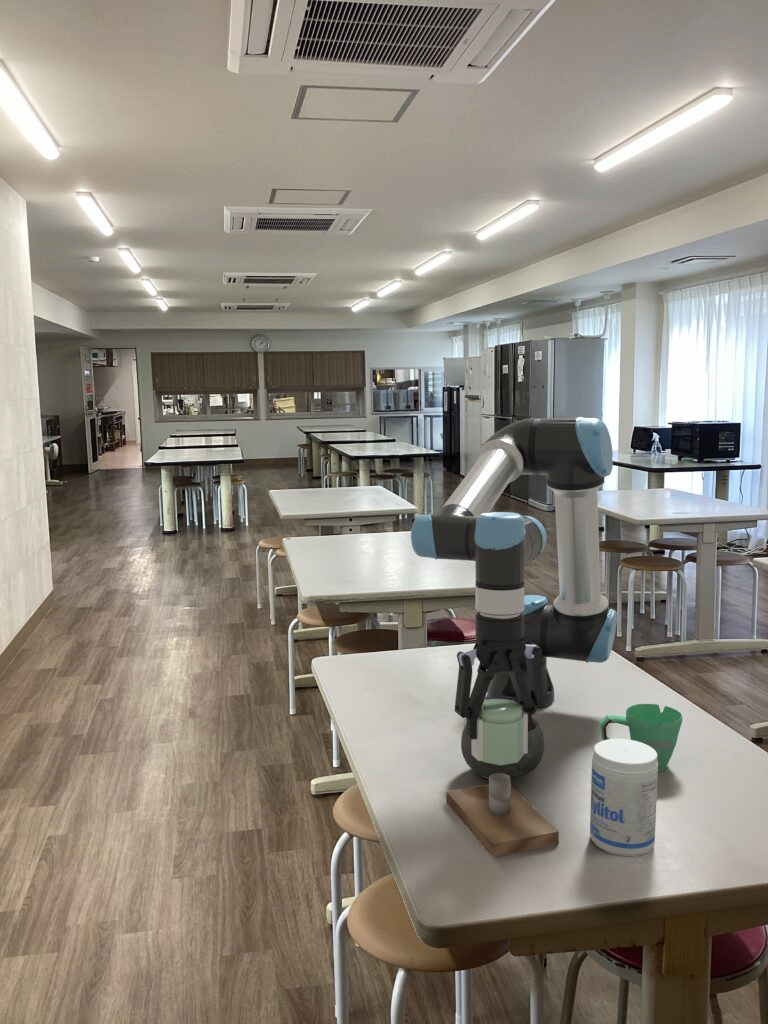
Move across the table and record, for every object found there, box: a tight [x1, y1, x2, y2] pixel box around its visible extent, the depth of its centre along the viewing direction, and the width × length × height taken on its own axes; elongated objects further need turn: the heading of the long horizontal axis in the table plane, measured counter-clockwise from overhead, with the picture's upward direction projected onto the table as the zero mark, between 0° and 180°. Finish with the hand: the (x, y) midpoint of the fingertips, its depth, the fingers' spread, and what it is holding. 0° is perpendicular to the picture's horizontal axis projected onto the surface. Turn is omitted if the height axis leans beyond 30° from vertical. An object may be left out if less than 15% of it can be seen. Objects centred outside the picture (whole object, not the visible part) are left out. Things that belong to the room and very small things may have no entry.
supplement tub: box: [589, 738, 659, 857], centre depth 125 cm, size 10×10×15 cm
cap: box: [479, 698, 524, 765], centre depth 131 cm, size 7×7×9 cm
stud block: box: [446, 773, 560, 858], centre depth 133 cm, size 11×18×8 cm, turn 18°
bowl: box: [460, 717, 546, 781], centre depth 149 cm, size 15×15×10 cm
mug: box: [599, 703, 683, 772], centre depth 152 cm, size 15×10×10 cm
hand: (499, 753), depth 132 cm, fingers closed on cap, 7 cm apart
